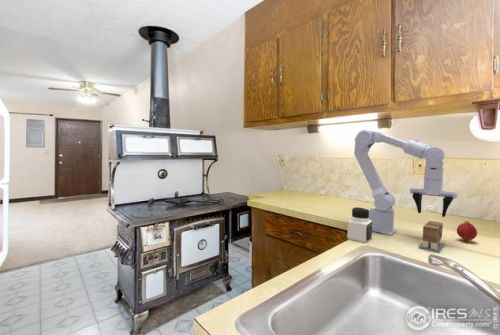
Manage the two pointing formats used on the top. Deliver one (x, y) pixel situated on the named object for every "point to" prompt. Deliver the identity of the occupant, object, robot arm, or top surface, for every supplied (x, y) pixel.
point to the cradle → (432, 246)
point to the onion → (467, 231)
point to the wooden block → (432, 231)
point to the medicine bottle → (360, 225)
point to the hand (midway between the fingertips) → (431, 214)
